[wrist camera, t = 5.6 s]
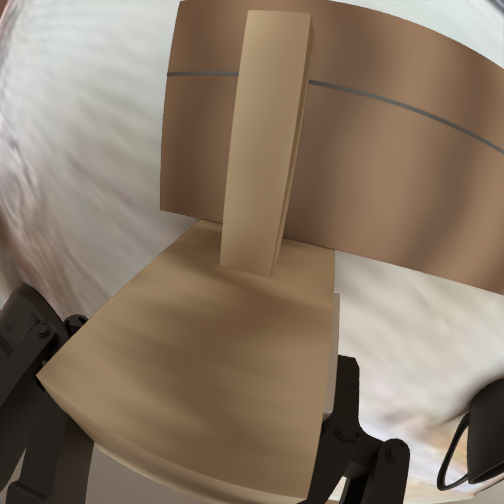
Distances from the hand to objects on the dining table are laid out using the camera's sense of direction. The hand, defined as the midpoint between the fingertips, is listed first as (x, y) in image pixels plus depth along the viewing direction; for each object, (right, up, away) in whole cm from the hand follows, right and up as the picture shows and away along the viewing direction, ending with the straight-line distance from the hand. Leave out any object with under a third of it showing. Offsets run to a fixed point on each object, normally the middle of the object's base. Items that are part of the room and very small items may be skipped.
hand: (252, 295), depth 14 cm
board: (+9, +7, -3) cm, 12 cm away
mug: (+24, -14, +4) cm, 28 cm away
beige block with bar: (+1, +5, -1) cm, 5 cm away
